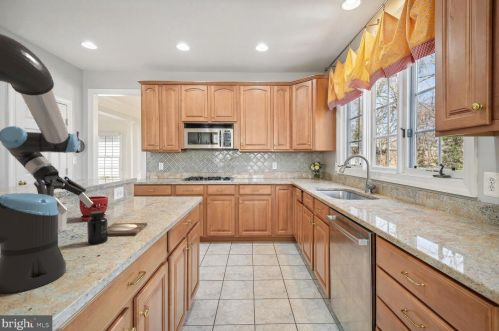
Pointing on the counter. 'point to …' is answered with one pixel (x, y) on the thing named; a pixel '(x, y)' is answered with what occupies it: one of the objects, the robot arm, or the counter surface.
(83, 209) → the plant pot
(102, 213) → the supplement bottle
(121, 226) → the walnut board
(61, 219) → the cup
